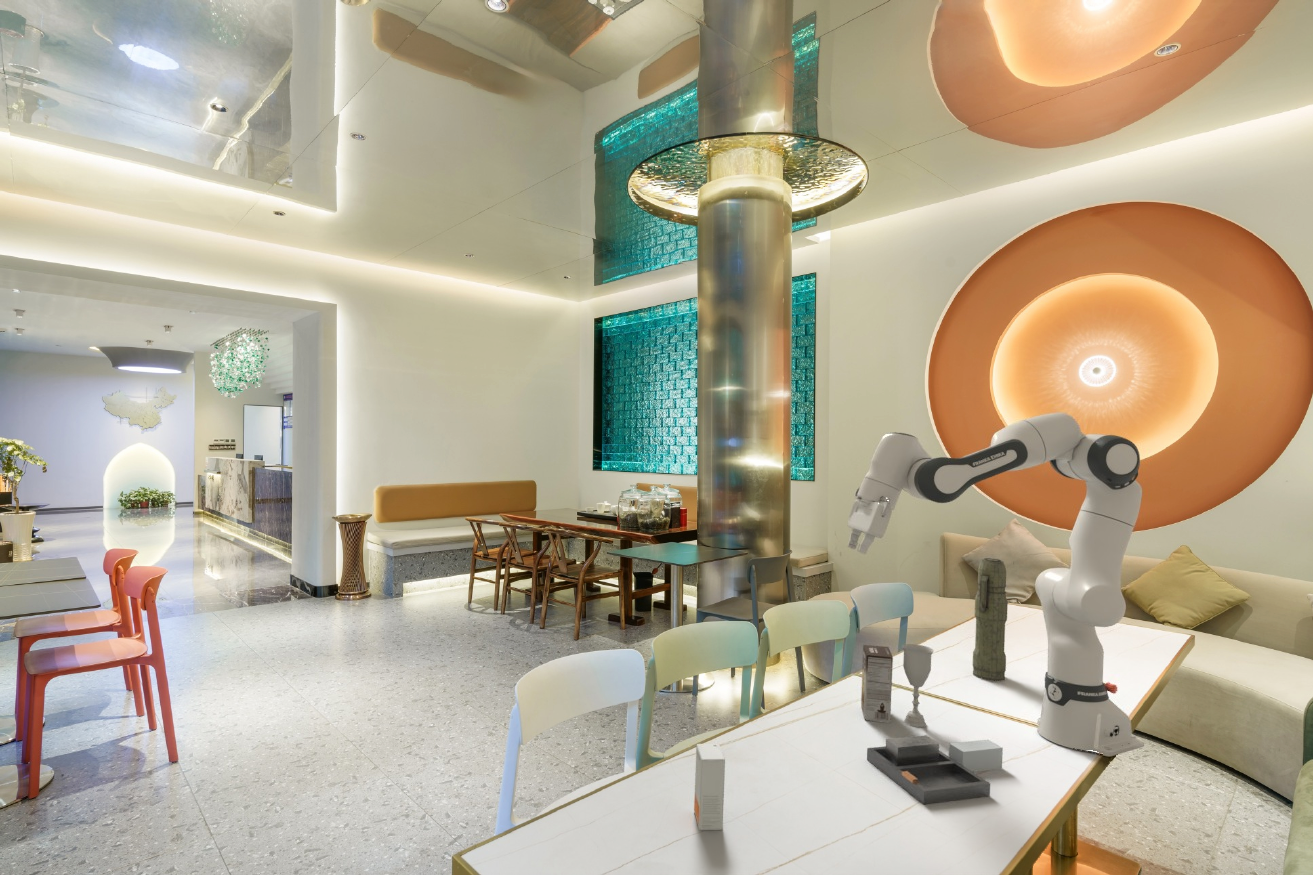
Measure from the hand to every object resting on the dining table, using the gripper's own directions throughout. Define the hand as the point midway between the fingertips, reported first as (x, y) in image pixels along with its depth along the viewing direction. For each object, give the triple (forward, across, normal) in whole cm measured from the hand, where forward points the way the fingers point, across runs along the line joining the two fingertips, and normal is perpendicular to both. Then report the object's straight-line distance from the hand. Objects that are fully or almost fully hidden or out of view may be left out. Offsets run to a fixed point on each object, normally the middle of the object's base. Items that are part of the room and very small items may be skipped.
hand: (855, 550), depth 156 cm
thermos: (+20, +48, -63) cm, 82 cm away
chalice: (+33, +8, -31) cm, 46 cm away
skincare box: (+52, -42, +17) cm, 69 cm away
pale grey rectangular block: (+32, -14, -36) cm, 50 cm away
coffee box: (+36, +11, -23) cm, 44 cm away
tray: (+36, -20, -24) cm, 48 cm away
